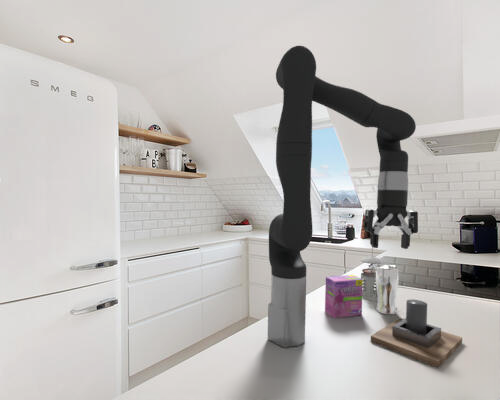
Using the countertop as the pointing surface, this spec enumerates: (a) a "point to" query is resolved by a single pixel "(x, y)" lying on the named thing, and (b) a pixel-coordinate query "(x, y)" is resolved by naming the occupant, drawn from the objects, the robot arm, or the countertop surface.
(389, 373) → the countertop surface
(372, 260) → the french press
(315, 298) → the countertop surface
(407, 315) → the grey rounded cylinder
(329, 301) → the box
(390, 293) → the beer glass
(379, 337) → the mount
